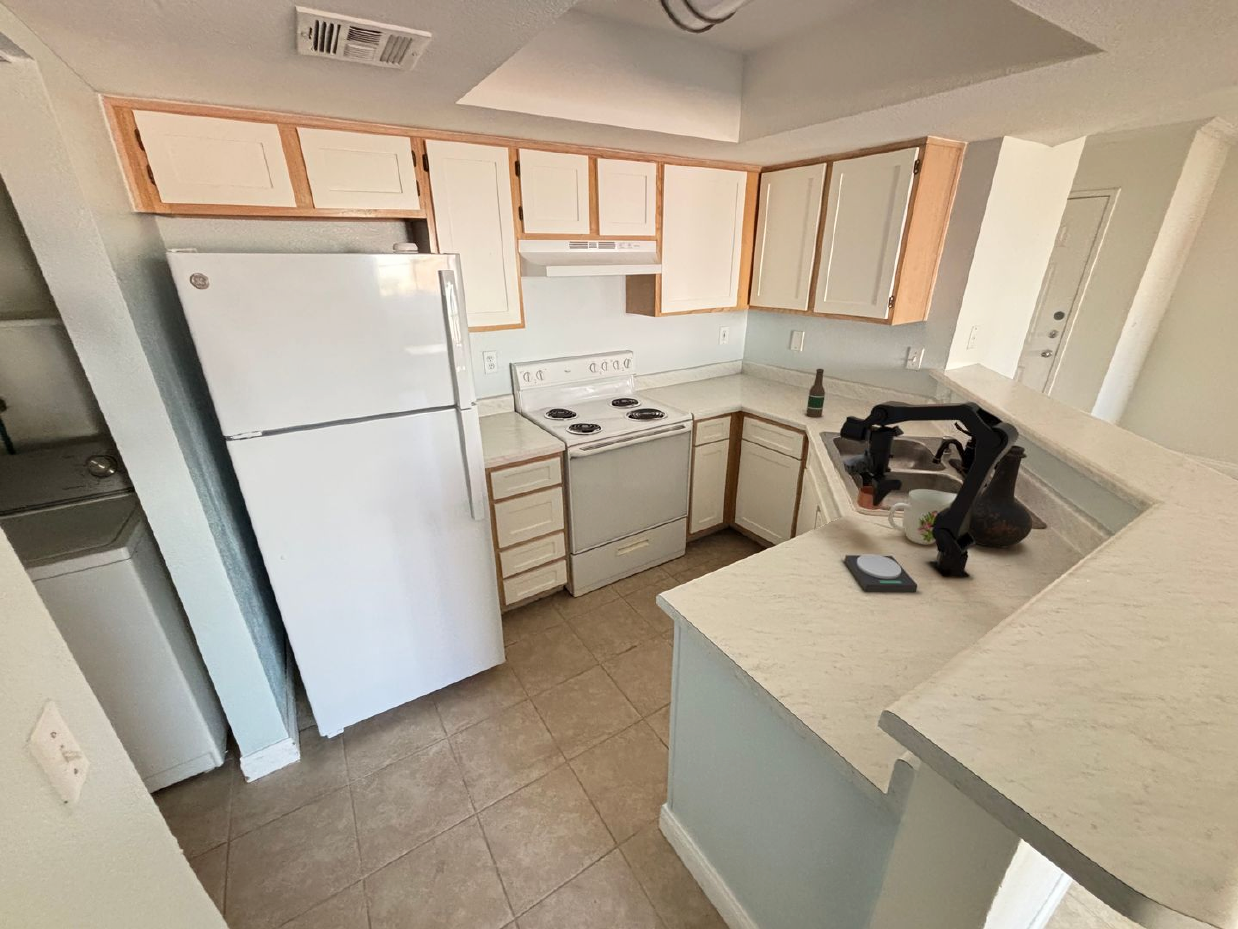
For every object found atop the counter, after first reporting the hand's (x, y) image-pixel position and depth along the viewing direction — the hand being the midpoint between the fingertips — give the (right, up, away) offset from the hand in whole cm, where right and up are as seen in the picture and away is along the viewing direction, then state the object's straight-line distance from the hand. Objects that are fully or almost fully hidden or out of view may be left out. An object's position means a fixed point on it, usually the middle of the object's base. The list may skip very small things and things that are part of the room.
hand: (870, 500), depth 141 cm
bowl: (0, -1, +1) cm, 2 cm away
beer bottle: (+30, +35, +118) cm, 127 cm away
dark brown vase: (+33, -11, +2) cm, 35 cm away
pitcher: (+14, -11, +2) cm, 18 cm away
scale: (-5, -18, -15) cm, 24 cm away
